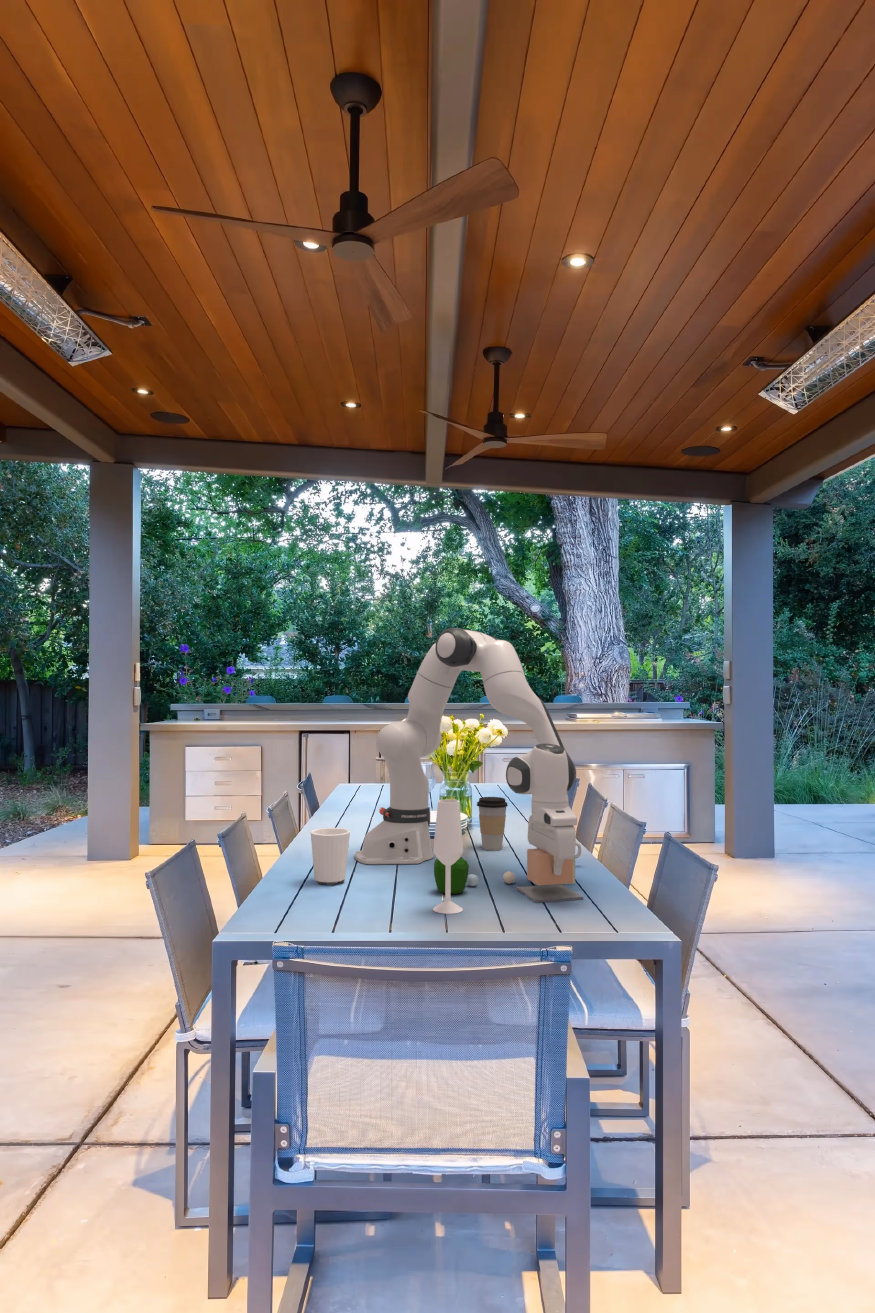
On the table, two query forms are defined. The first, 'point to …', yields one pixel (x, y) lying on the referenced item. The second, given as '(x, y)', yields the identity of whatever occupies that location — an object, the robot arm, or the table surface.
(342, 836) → the cup
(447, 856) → the champagne flute
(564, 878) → the terracotta block
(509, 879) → the marble cream
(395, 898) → the table surface
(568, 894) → the slate coaster
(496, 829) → the coffee cup
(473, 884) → the marble blue
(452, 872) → the bell pepper
